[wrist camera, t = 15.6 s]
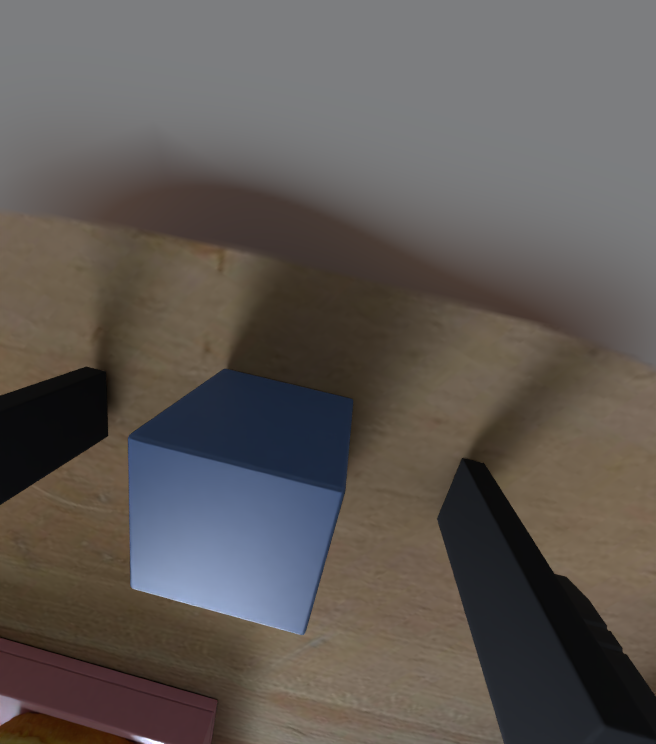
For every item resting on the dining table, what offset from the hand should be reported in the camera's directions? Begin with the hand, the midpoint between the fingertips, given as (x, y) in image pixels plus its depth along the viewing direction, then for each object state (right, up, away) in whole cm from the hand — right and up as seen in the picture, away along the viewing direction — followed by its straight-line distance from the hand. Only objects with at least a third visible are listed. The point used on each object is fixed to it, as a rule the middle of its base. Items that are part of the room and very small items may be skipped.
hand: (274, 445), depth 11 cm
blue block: (0, 0, 0) cm, 0 cm away
